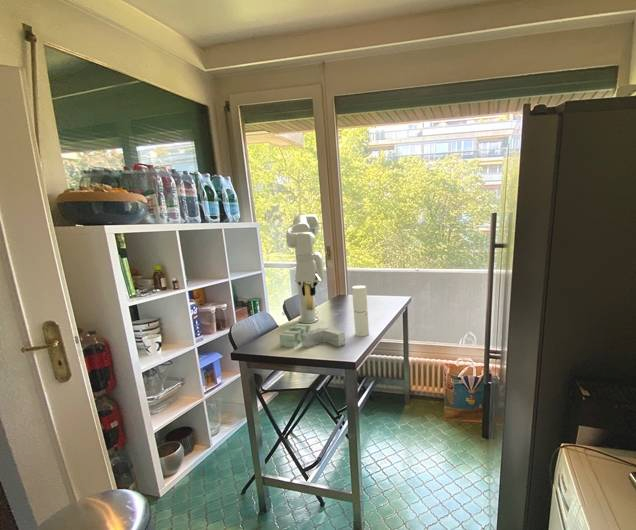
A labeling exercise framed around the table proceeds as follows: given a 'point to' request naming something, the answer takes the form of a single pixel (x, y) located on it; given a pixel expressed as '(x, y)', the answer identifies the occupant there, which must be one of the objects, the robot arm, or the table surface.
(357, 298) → the cylindrical container
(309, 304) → the axle
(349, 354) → the table surface
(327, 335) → the v block
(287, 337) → the pale green slotted holder
